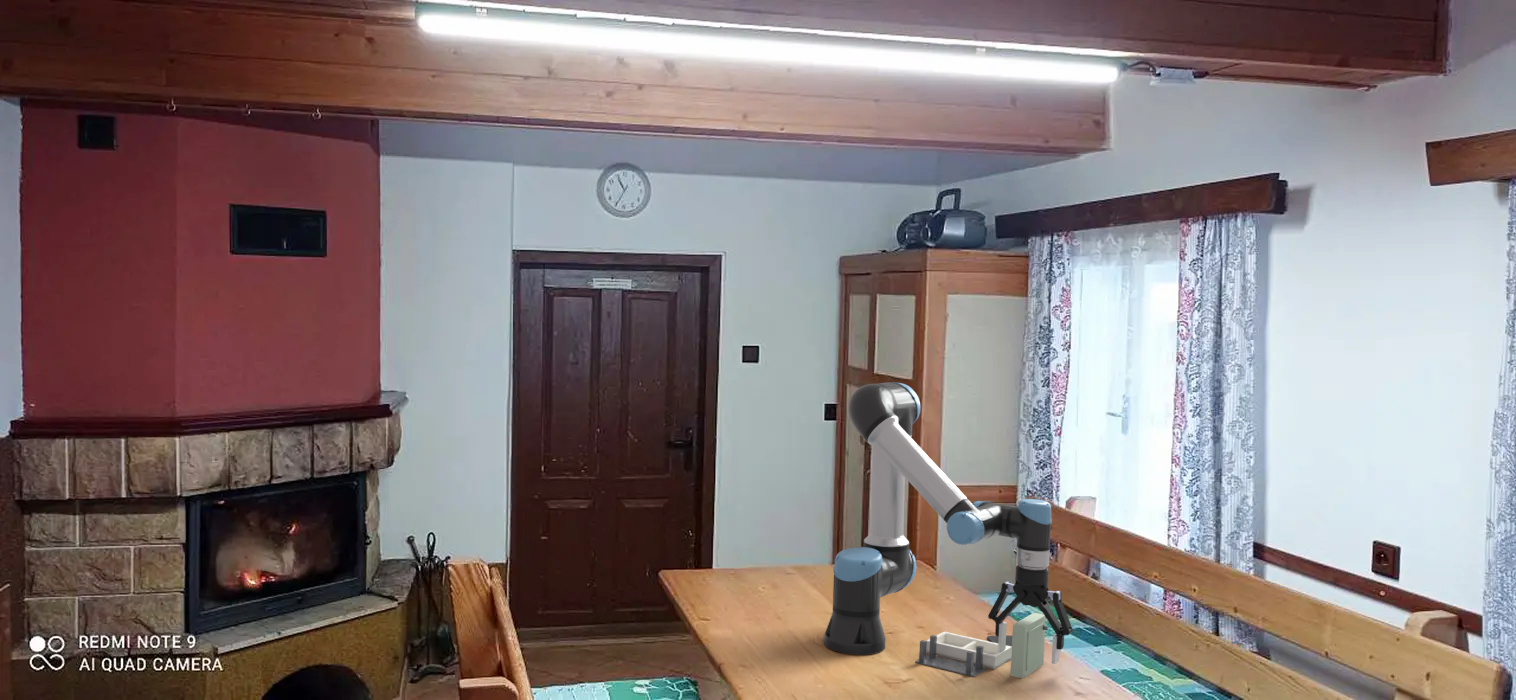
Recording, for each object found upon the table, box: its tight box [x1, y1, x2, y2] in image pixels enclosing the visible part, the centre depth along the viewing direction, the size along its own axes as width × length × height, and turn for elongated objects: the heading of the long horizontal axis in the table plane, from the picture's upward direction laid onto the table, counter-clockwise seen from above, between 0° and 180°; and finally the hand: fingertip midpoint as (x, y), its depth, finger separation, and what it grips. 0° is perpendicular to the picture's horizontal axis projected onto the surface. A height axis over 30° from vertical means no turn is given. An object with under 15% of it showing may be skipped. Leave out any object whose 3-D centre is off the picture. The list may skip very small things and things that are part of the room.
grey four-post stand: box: [914, 634, 987, 678], centre depth 259 cm, size 15×7×5 cm, turn 55°
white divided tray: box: [926, 631, 1012, 670], centre depth 267 cm, size 18×10×3 cm, turn 55°
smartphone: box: [986, 634, 1012, 647], centre depth 276 cm, size 7×1×15 cm
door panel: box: [1010, 612, 1049, 679], centre depth 258 cm, size 13×4×12 cm, turn 145°
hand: (1028, 656), depth 258 cm, fingers open, 12 cm apart
